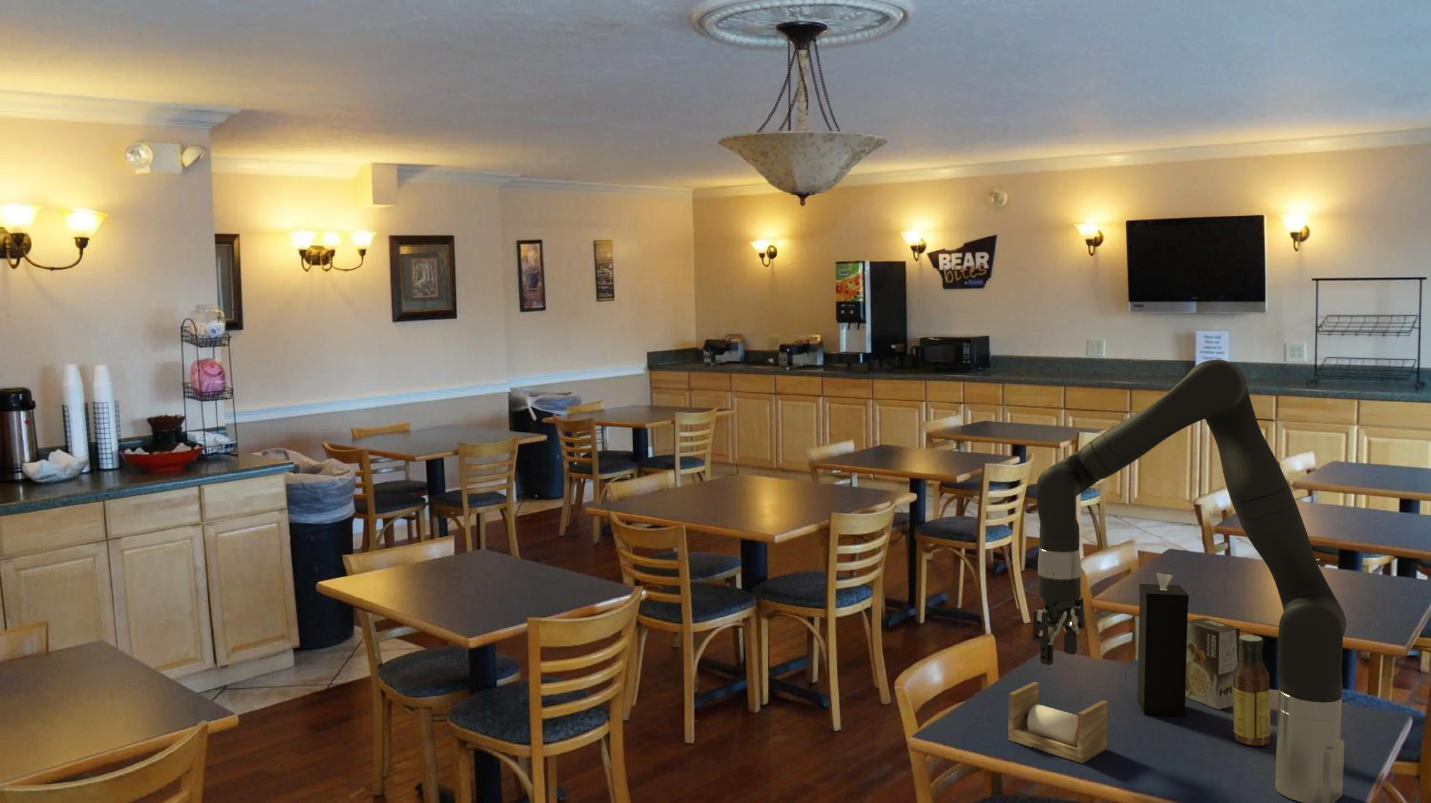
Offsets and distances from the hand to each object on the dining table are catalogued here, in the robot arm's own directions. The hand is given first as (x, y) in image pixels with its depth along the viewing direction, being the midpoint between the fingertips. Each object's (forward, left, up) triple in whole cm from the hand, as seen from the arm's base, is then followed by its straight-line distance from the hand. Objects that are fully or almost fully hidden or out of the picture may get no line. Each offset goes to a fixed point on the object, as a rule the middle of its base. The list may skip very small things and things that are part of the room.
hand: (1058, 658), depth 202 cm
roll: (0, 0, -15) cm, 15 cm away
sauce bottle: (-24, -27, -17) cm, 40 cm away
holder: (0, 0, -16) cm, 16 cm away
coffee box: (-10, -43, -17) cm, 47 cm away
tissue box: (-5, -31, -17) cm, 36 cm away
